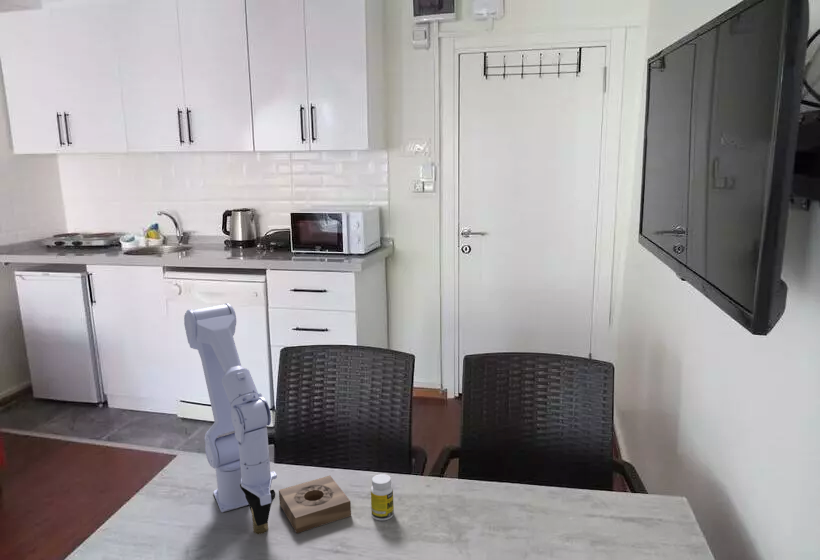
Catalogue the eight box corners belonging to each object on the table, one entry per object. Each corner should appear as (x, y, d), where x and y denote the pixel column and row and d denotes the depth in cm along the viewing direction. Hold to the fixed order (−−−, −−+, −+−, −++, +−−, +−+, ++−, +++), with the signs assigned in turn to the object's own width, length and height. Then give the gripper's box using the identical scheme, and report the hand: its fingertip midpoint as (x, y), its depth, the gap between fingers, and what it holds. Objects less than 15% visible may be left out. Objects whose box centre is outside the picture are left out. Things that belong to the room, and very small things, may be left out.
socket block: (279, 504, 132) (278, 490, 132) (331, 489, 138) (330, 475, 137) (296, 533, 122) (295, 518, 121) (351, 515, 128) (350, 500, 127)
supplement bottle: (391, 522, 125) (389, 485, 123) (369, 520, 126) (367, 483, 124) (396, 509, 129) (394, 473, 128) (374, 507, 130) (373, 471, 129)
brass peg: (251, 528, 124) (248, 493, 123) (266, 523, 126) (263, 489, 124) (255, 535, 122) (252, 500, 120) (270, 531, 123) (267, 495, 121)
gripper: (284, 469, 116) (289, 531, 119) (264, 439, 128) (269, 496, 131) (247, 478, 113) (253, 543, 115) (231, 447, 125) (237, 505, 128)
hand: (259, 519), depth 123 cm, fingers closed on brass peg, 3 cm apart
